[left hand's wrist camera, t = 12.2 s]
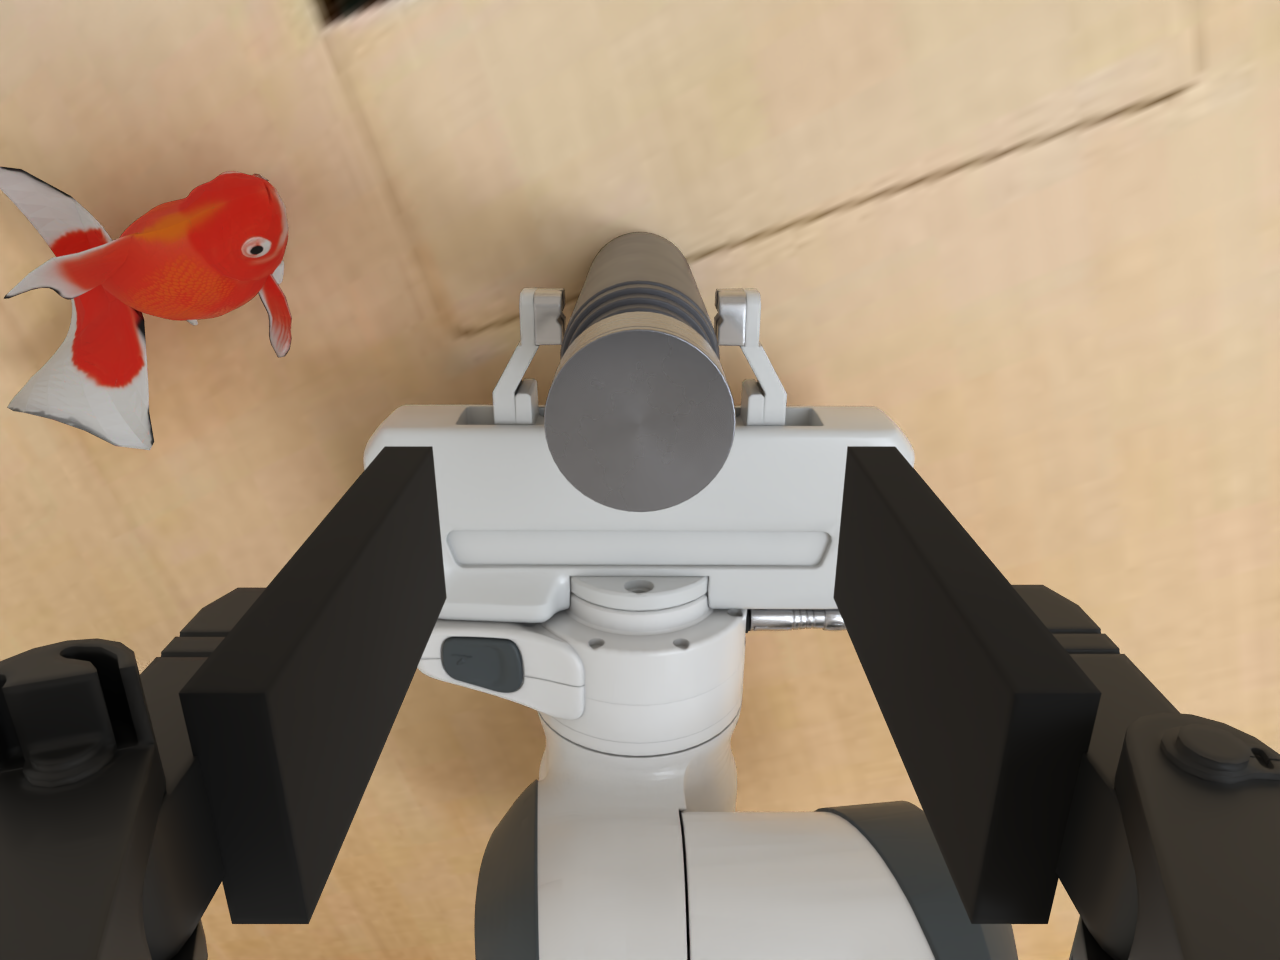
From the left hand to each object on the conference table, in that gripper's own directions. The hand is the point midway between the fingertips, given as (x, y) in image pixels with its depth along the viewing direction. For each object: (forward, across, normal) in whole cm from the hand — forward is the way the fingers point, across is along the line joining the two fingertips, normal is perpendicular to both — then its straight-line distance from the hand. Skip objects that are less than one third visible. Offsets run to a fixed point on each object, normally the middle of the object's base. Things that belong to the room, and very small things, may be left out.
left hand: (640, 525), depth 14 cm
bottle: (+25, 0, 0) cm, 25 cm away
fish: (+25, +19, 0) cm, 31 cm away
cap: (+6, 0, 0) cm, 6 cm away
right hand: (+18, 0, -1) cm, 18 cm away
